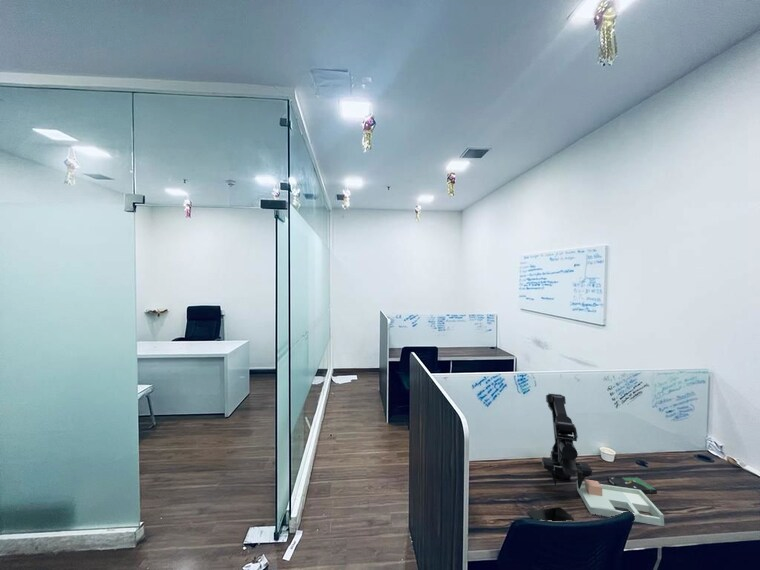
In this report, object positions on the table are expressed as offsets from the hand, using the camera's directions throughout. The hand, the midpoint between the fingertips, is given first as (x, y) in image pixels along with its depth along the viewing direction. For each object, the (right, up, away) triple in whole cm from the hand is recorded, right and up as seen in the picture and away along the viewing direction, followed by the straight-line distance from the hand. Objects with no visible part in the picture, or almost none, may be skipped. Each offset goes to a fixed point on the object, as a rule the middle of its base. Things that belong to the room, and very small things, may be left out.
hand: (567, 486), depth 136 cm
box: (+15, -3, -9) cm, 18 cm away
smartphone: (-16, -3, -15) cm, 22 cm away
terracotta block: (+10, -1, -3) cm, 10 cm away
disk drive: (+32, -5, +5) cm, 33 cm away
